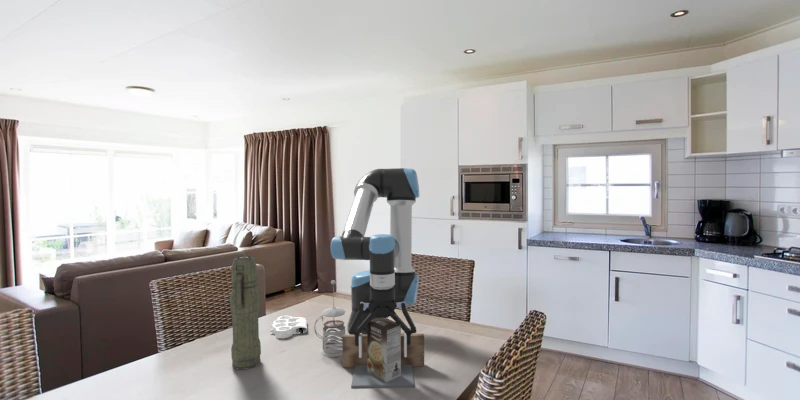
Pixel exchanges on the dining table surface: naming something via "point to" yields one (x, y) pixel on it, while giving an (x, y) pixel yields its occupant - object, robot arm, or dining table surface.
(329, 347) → the french press
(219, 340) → the dining table surface
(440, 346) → the dining table surface
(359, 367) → the grey mat
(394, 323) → the coffee box
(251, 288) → the green canvas bag
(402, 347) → the walnut board
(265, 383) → the dining table surface
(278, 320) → the white flat lobed piece
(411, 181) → the robot arm
